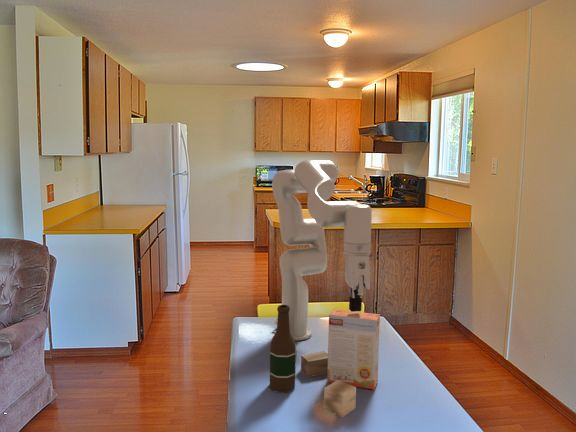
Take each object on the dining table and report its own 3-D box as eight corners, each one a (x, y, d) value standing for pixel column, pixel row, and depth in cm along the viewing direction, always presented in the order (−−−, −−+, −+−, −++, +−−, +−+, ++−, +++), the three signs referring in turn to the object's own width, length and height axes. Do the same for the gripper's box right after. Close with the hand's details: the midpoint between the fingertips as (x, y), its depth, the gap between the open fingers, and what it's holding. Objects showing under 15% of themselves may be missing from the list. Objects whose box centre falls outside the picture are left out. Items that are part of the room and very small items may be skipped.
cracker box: (378, 381, 147) (380, 313, 144) (374, 391, 141) (377, 320, 138) (332, 373, 151) (333, 307, 148) (326, 382, 146) (328, 313, 143)
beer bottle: (265, 382, 145) (266, 303, 142) (290, 378, 148) (291, 300, 144) (274, 395, 138) (275, 312, 134) (300, 390, 141) (301, 309, 137)
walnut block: (300, 370, 154) (301, 355, 153) (323, 366, 157) (324, 351, 156) (307, 377, 149) (308, 361, 148) (331, 372, 152) (331, 357, 152)
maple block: (323, 409, 131) (324, 387, 130) (336, 400, 136) (337, 379, 135) (342, 417, 127) (343, 395, 126) (355, 408, 132) (356, 387, 131)
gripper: (378, 253, 134) (376, 318, 137) (361, 242, 149) (360, 302, 151) (351, 253, 133) (349, 320, 135) (337, 243, 147) (336, 302, 150)
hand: (355, 310), depth 143 cm, fingers closed
